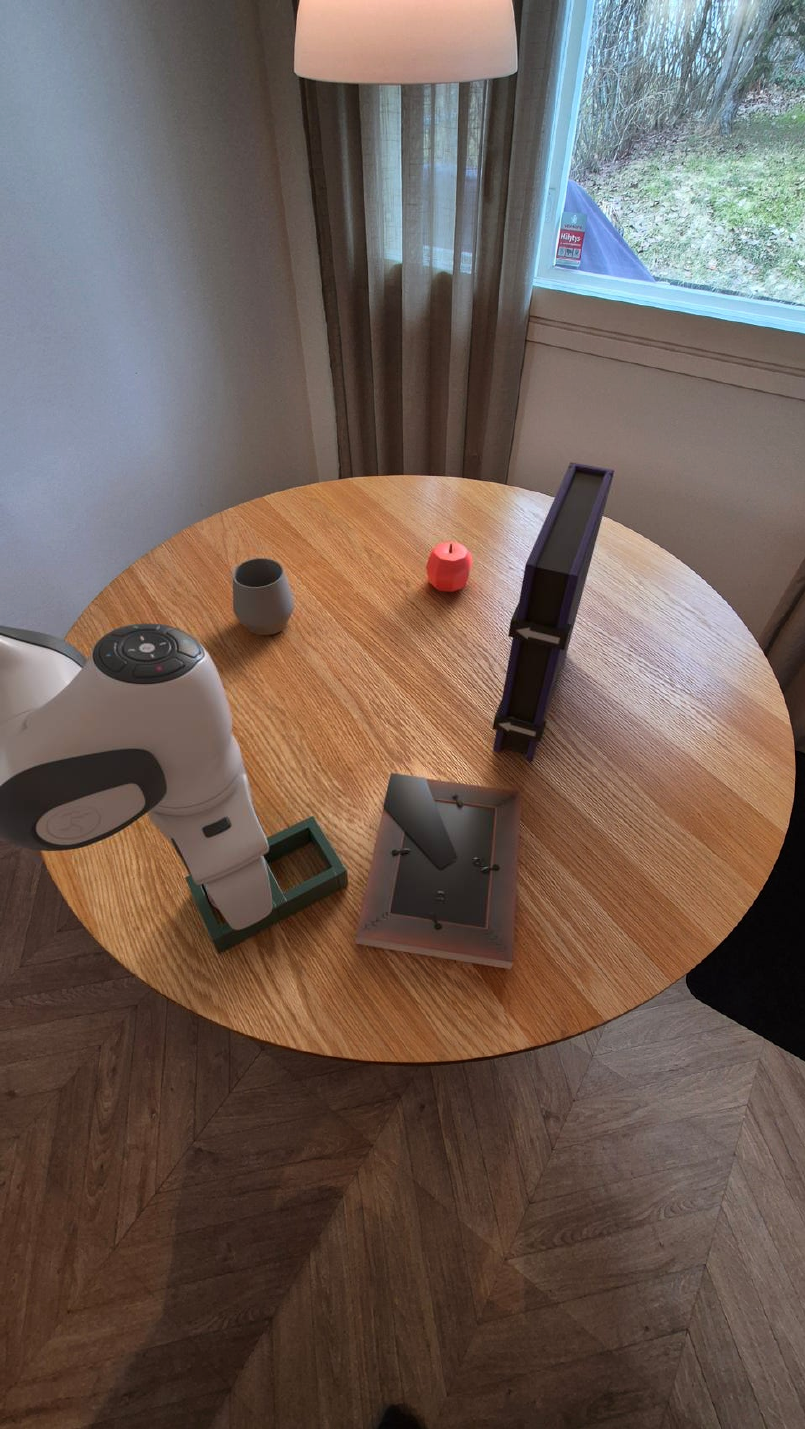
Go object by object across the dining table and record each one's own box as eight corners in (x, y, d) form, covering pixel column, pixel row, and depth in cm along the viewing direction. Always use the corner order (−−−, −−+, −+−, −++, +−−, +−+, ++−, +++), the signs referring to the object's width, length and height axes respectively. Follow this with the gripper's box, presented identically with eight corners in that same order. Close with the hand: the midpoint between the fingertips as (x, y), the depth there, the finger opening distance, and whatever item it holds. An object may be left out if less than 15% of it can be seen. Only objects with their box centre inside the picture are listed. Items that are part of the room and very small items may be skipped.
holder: (218, 954, 70) (211, 941, 67) (191, 892, 75) (184, 877, 72) (348, 885, 76) (347, 870, 73) (315, 831, 80) (313, 815, 78)
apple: (466, 568, 117) (470, 529, 111) (475, 596, 112) (480, 556, 106) (421, 572, 116) (423, 532, 110) (429, 600, 111) (431, 559, 105)
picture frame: (390, 784, 85) (355, 945, 71) (390, 772, 83) (354, 935, 69) (519, 802, 83) (510, 970, 69) (522, 790, 82) (513, 961, 67)
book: (529, 643, 104) (566, 461, 81) (569, 653, 102) (618, 470, 80) (488, 752, 89) (520, 565, 67) (534, 766, 87) (582, 579, 65)
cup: (287, 647, 102) (278, 595, 95) (229, 640, 103) (216, 588, 96) (303, 609, 109) (296, 557, 101) (249, 602, 110) (238, 551, 102)
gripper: (124, 721, 62) (160, 806, 72) (200, 894, 50) (231, 966, 60) (189, 697, 64) (216, 782, 74) (276, 857, 52) (294, 932, 63)
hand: (223, 866), depth 67 cm, fingers closed on pill bottle, 5 cm apart
